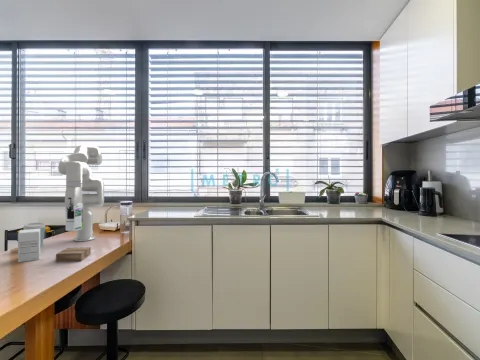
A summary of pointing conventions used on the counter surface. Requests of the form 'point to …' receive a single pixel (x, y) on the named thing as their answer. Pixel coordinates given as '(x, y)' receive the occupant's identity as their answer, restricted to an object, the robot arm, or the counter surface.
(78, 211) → the syrup box
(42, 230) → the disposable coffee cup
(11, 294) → the counter surface
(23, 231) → the supplement box
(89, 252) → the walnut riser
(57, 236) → the counter surface
